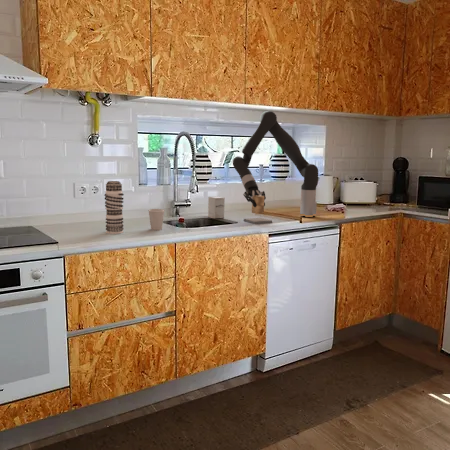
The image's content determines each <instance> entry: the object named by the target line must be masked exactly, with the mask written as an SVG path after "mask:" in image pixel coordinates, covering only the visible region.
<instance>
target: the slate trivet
mask: <svg viewBox="0 0 450 450" xmlns="http://www.w3.org/2000/svg"><path fill="white" fill-rule="evenodd" d="M243 222H247V223H250V224H255V225H256V224H258V225H259V224H271V223H273V220H272V219H267V218H263V217H252V218H251V217H250V218H243Z"/></svg>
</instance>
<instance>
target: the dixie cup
mask: <svg viewBox="0 0 450 450" xmlns="http://www.w3.org/2000/svg"><path fill="white" fill-rule="evenodd" d="M165 211H166V210H165V209H164V208H163V209H162V208H150V209H148V216H149V222H150V223H149V224H150V225H149V226H150V229H151V230H153V231H160V230H161V231H162V230H163V224H164V216H165Z"/></svg>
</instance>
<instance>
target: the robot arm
mask: <svg viewBox="0 0 450 450" xmlns="http://www.w3.org/2000/svg"><path fill="white" fill-rule="evenodd" d="M259 115H260V116H259V122H260V123H259V125H258V126H257V128H256V130H255V131H254V132H253V134H252V135H251V136H250V137H249V139H248V140H247V142H246V143H245V145H244V146H243V148H242V150H241V152H242V154H243V156H238V155H237V156H234V158H233V159H232V166H233V168H234V169H235V171H236V172H237V174H238V175H239V177H240V180H241V183H242V185H243V187H244V190H245V191H244V193H243V194H242V195H243V196H244V197H243V198H245V199H246V200H247V202H250V203H251V206H252V205H253V206H254V207H256V206H257V204H256V202H255V200H254V195H259V196H264V207H265V206H266V203H265V200H266V193H265V191H264V190H263V191H260V190H259V185H258V183H257V182H256V180H255V178H254V176H253V174H252V171H251V170H250V169H249V166H250V164H251V160H252V157H253V155H254V154H255V152H256V150H257V148H259V146H260V144H261V142H262V140H263V139H264V138H265V136H266V135H267V134H268V133H269V134H271V136H272V137H273V139H274V141H275V142H276V143H277V144H278V146H279V147H280V148H281V150H282V151H283V153H284V154H285V155H286V156H287V158H288V159H289V160H290V161H291V162H292V163H293V164H294V166H295V167H296V169H297V171H298V172H299V174H300V175H301V177H303V183H302V184H301V186H300V207H299V208H300V211H299V215H300V214H305V215H313V214H316V215H317V206H318V205H317V204H318V202H317V201H316V197H317V187H318V184H319V183H318V182H319V168H318V167H317V165H316V164H312V163H309V161H307V160H306V158H305V157H304V156H303V154H302V152H301V149H300V147H299V144H298V143H297V142H296V141H295V139H294V138H293V136H291V135H290V134H289V133H288V132H287V131H286V130H285V129H284V128H283V127H282V126H281V125H280V123H279V122H278V120H277V119H278V117H277V114H276V113H275V112H274V111H272V110H271V111H270V110H265V111H263V112H262V113H260V114H259Z"/></svg>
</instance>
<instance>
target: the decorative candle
mask: <svg viewBox="0 0 450 450" xmlns="http://www.w3.org/2000/svg"><path fill="white" fill-rule="evenodd" d="M124 195H125V194H124V193H123V183H121V181H119V180H109V181H107V182H106V183H105V194H104V200H105V202H104V207H105V210H106V211H105V212H106V215H105V223H106V224H105V227H106V228H105V233H106V234H111V235H117V234H118V235H119V234H123V233H124V224H123V223H124V216H123V209H124V205H123V203H124V197H123V196H124Z"/></svg>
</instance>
